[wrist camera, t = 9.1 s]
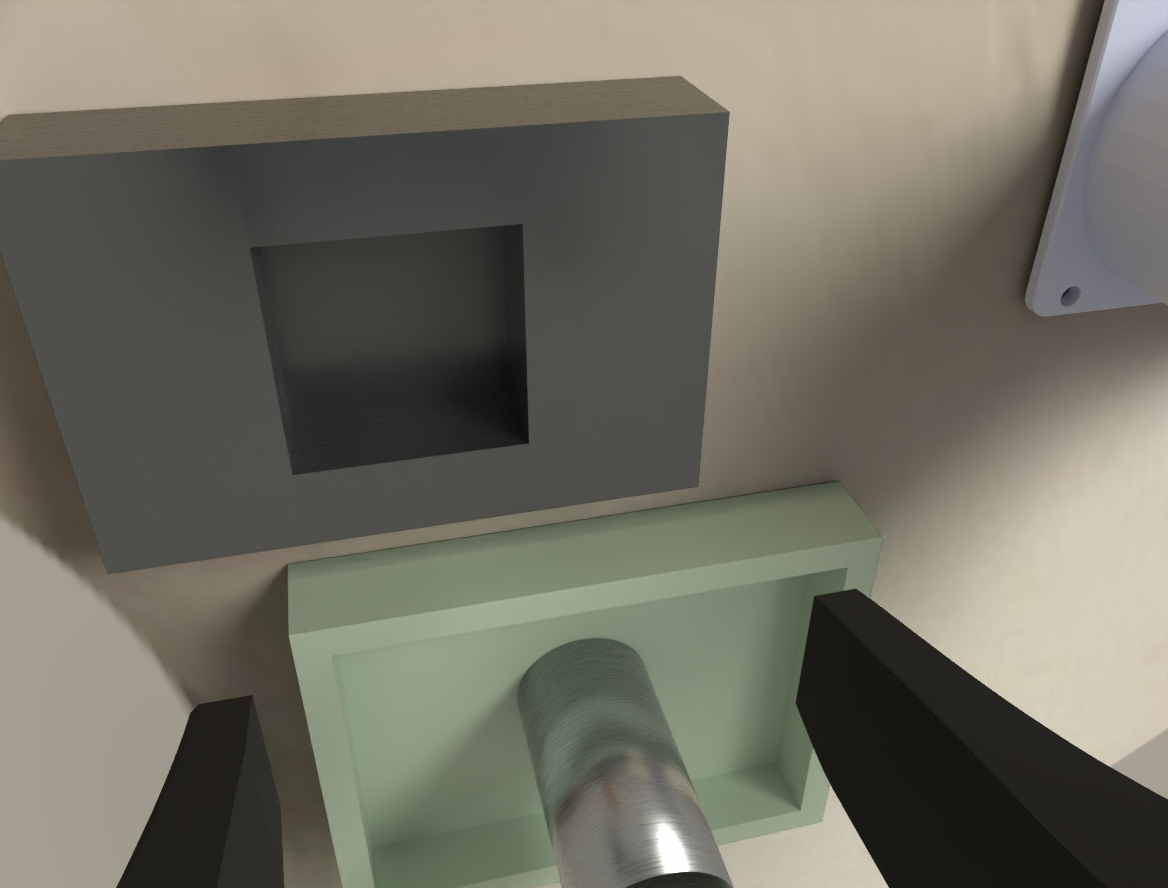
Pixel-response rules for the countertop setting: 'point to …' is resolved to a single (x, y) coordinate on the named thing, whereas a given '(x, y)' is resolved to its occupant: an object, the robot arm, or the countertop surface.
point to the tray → (540, 624)
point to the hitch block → (367, 306)
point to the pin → (613, 774)
